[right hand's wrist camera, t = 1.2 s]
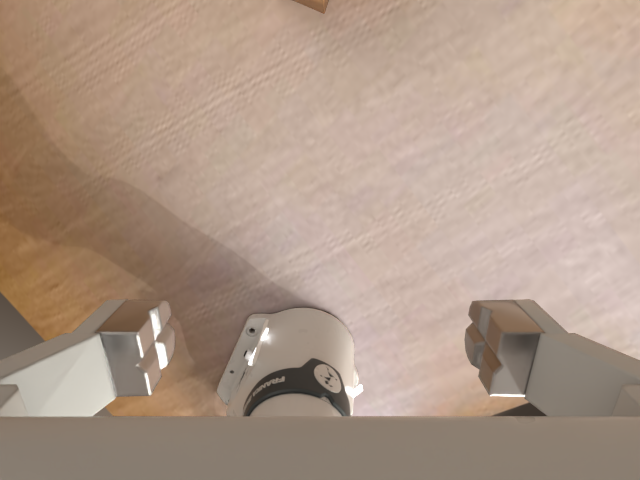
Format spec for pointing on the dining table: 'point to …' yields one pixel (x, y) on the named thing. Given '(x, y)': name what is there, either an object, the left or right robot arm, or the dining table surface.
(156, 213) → the dining table surface
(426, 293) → the dining table surface
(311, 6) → the box
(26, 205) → the dining table surface
